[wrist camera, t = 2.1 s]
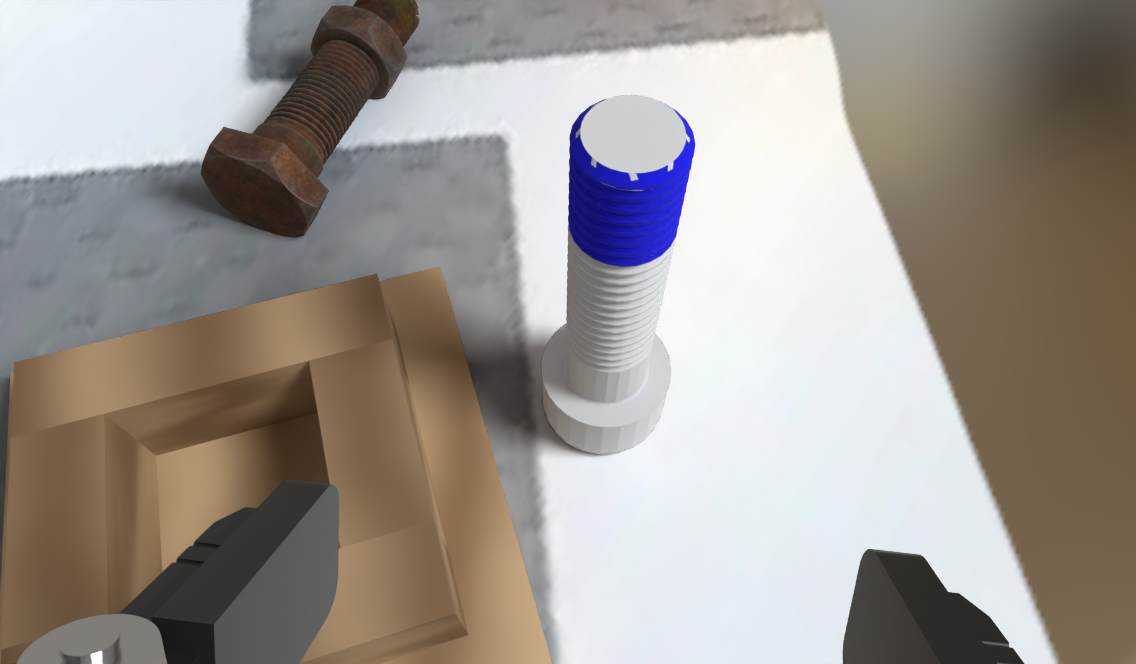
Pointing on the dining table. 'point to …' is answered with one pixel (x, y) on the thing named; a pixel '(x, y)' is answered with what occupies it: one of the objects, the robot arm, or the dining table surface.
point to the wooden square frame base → (272, 470)
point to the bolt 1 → (310, 118)
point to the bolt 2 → (617, 273)
